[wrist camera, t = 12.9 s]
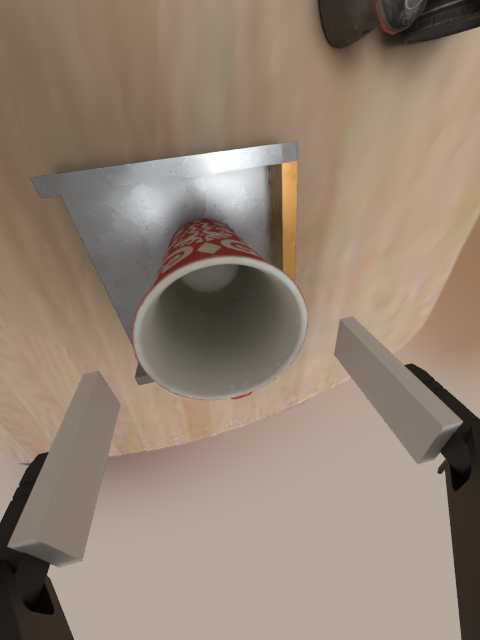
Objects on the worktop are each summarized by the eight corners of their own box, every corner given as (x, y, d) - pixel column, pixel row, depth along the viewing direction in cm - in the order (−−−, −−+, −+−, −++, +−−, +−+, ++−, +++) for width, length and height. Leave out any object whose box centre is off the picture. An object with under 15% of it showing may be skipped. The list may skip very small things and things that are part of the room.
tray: (56, 174, 19) (29, 177, 15) (279, 144, 21) (297, 141, 17) (143, 360, 30) (138, 385, 27) (282, 330, 32) (293, 350, 29)
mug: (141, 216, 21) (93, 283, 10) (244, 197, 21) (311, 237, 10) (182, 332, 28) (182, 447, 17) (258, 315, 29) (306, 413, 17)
